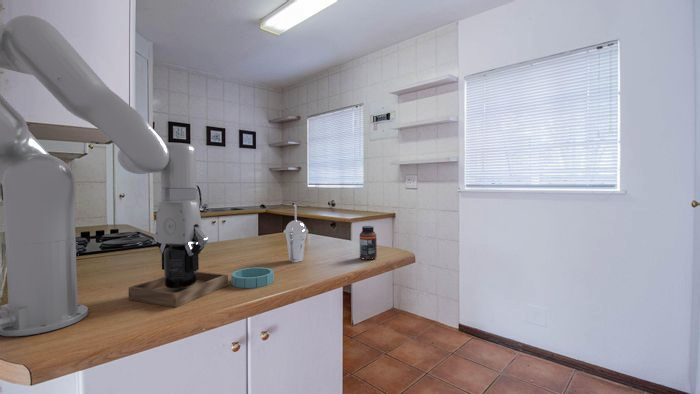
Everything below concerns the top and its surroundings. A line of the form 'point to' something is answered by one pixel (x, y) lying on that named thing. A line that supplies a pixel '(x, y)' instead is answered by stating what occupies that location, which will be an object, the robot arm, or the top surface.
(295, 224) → the cup with straw
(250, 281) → the holder ring
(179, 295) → the tray
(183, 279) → the supplement bottle
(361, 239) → the supplement bottle
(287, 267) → the top surface
